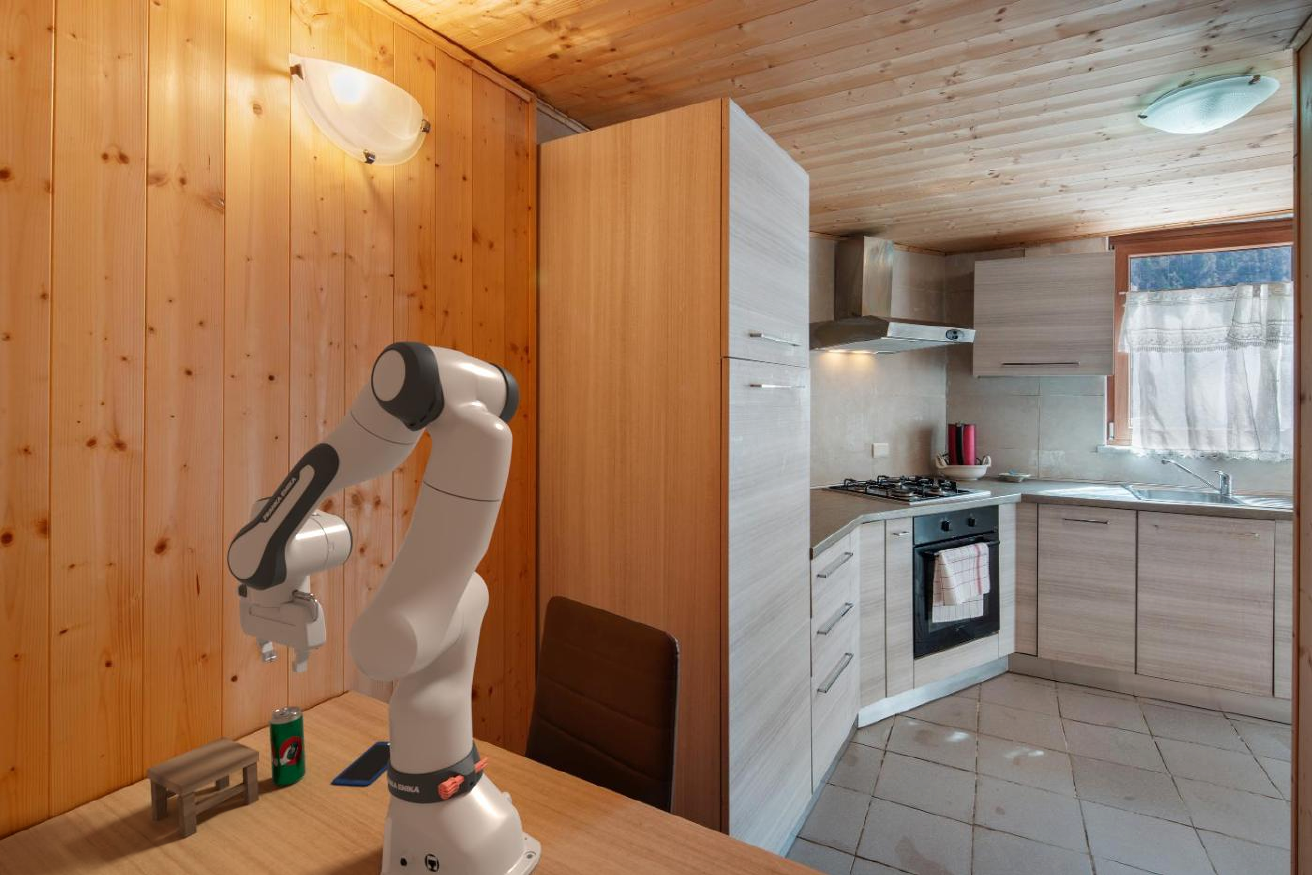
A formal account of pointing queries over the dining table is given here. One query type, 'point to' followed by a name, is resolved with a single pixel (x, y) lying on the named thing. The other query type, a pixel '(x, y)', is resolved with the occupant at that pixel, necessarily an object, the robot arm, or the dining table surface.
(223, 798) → the stool
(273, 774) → the soda can
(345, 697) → the dining table surface
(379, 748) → the cell phone
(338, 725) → the dining table surface
